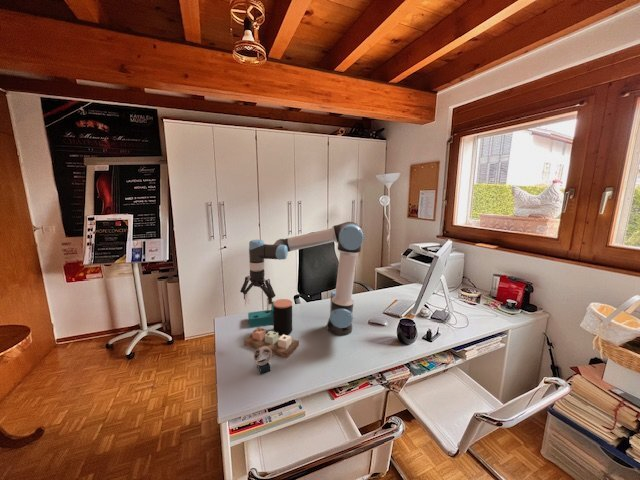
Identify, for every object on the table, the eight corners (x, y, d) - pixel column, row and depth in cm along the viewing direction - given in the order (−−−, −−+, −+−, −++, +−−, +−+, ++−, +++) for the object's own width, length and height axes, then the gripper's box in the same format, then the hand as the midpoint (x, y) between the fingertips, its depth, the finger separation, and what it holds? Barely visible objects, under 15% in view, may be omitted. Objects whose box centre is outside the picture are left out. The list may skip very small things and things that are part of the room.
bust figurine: (252, 369, 119) (252, 347, 117) (269, 363, 124) (269, 342, 122) (257, 376, 115) (256, 354, 113) (274, 370, 119) (273, 348, 117)
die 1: (265, 336, 142) (265, 328, 141) (260, 340, 137) (259, 333, 136) (258, 333, 144) (258, 326, 143) (252, 338, 139) (252, 331, 138)
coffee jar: (295, 329, 154) (295, 301, 150) (285, 338, 144) (285, 308, 141) (280, 325, 158) (280, 297, 154) (269, 334, 148) (269, 304, 145)
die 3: (291, 343, 135) (291, 336, 134) (286, 348, 131) (286, 341, 130) (283, 341, 137) (283, 333, 136) (277, 346, 133) (277, 338, 132)
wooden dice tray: (299, 345, 138) (299, 340, 137) (286, 359, 127) (286, 353, 126) (258, 334, 148) (258, 329, 148) (244, 345, 138) (244, 340, 137)
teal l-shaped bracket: (277, 316, 170) (276, 301, 169) (280, 323, 160) (279, 306, 159) (248, 320, 165) (247, 304, 164) (249, 327, 154) (248, 310, 153)
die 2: (278, 339, 138) (278, 332, 138) (272, 344, 134) (272, 337, 133) (270, 337, 140) (270, 330, 140) (264, 342, 136) (264, 334, 135)
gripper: (281, 270, 136) (281, 308, 140) (241, 264, 145) (242, 300, 149) (274, 274, 129) (274, 314, 133) (232, 268, 138) (234, 305, 142)
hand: (257, 307), depth 141 cm, fingers open, 13 cm apart
